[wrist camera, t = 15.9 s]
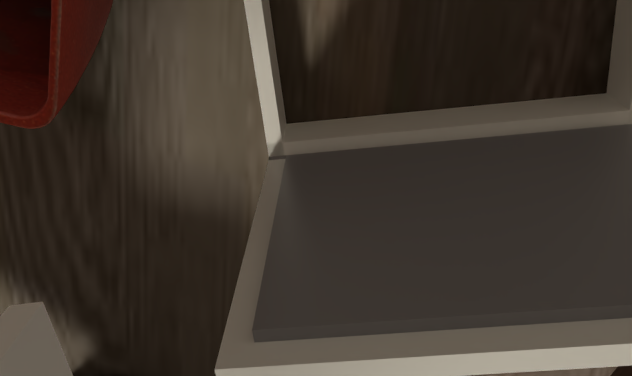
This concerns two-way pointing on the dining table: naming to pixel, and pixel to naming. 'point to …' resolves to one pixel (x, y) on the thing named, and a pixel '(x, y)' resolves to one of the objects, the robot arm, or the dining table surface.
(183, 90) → the dining table surface
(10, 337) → the robot arm
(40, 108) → the plant pot
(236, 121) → the dining table surface
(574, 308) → the case
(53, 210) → the dining table surface
